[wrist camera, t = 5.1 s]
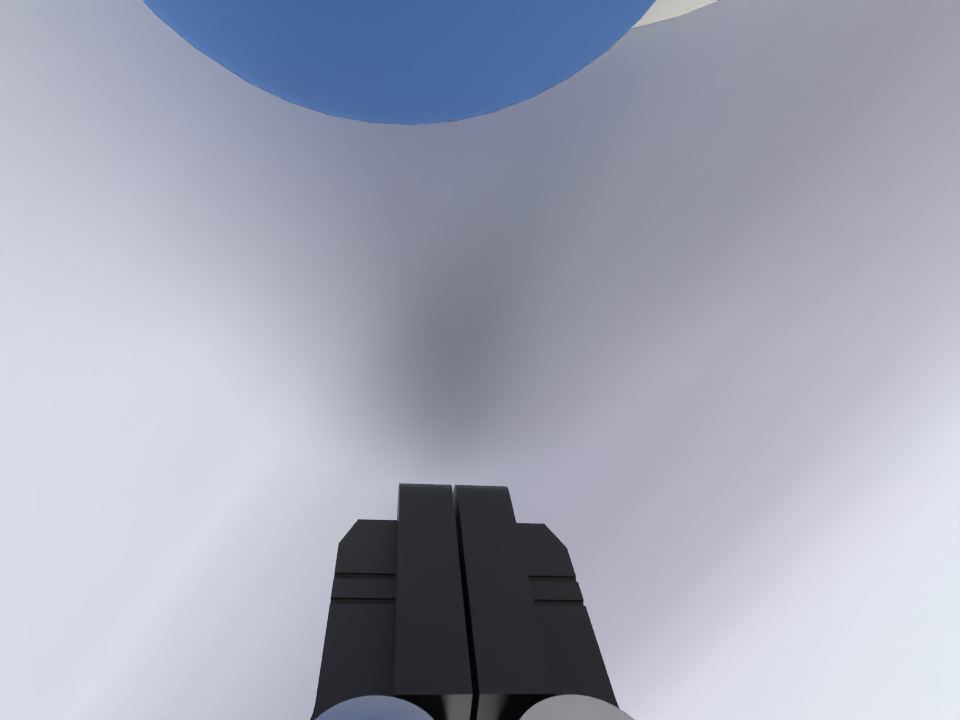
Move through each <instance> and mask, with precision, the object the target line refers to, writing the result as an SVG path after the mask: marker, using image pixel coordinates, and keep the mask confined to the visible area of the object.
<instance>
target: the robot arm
mask: <svg viewBox="0 0 960 720" xmlns="http://www.w3.org/2000/svg"><path fill="white" fill-rule="evenodd" d="M310 720H634V719H633V718H632V717H630V716H629V715H628V714H626V713H625V712H624V711H622V710H621V709H619V707H618V704H617V702H616V699H615V696H614V693H613V690H612V687H611V683H610V680H609V677H608V674H607V671H606V668H605V665H604V662H603V659H602V656H601V653H600V649H599V646H598V643H597V640H596V637H595V634H594V631H593V628H592V625H591V622H590V618H589V615H588V612H587V609H586V606H584V605H583V597H582V594H581V591H580V588H579V584H578V582H576V575H575V572H574V569H573V566H572V563H571V560H570V557H569V553H568V550H567V548H566V547H565V546H564V545H563V543H562V542H561V541H560V540H559V539H558V538H557V537H556V536H555V535H554V534H553V533H552V532H551V531H550V530H549V528H548V527H547V526H546V525H545V524H531V523H516V520H515V516H514V511H513V507H512V503H511V498H510V494H509V490H508V488H507V487H505V486H473V485H455V486H454V491H453V492H452V486H451V485H435V484H403V483H399V493H398V509H397V520H362V519H358V520H357V522H356V523H355V524H354V525H353V527H352V528H351V529H350V530H349V532H348V533H347V534H346V535H345V537H344V538H343V539H342V540H341V541H340V543H339V546H338V553H337V560H336V567H335V575H334V580H333V587H332V594H331V604H330V608H329V614H328V621H327V628H326V635H325V642H324V648H323V655H322V662H321V669H320V676H319V682H318V689H317V696H316V703H315V707H314V711H313V715H312V717H311V719H310Z"/></svg>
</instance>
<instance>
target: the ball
mask: <svg viewBox="0 0 960 720" xmlns="http://www.w3.org/2000/svg"><path fill="white" fill-rule="evenodd" d="M142 1H143V2H144V3H145V4H146V5H147V6H148V7H149V8H150V9H151V10H152V11H153V12H154V13H155V14H156V15H157V16H158V17H159V18H160V19H161V20H162V21H164V22H165V23H166V24H167V25H168V26H170V27H171V28H172V29H173V30H174V31H176V32H177V33H178V34H179V35H180V36H181V37H183V38H184V39H185V40H186V41H187V42H189V43H190V44H191V45H192V46H193V47H195V48H196V49H198V50H199V51H201V52H202V53H204V54H205V55H207V56H208V57H210V58H211V59H213V60H215V61H216V62H218V63H219V64H221V65H222V66H224V67H225V68H227V69H228V70H230V71H231V72H233V73H235V74H236V75H238V76H239V77H241V78H242V79H244V80H245V81H247V82H249V83H251V84H253V85H255V86H257V87H259V88H261V89H263V90H265V91H267V92H269V93H271V94H274V95H276V96H278V97H280V98H282V99H284V100H286V101H288V102H291V103H294V104H297V105H300V106H303V107H306V108H309V109H312V110H315V111H318V112H321V113H325V114H328V115H332V116H337V117H343V118H348V119H353V120H359V121H364V122H369V123H387V124H408V125H415V124H427V123H438V122H449V121H457V120H461V119H465V118H470V117H474V116H478V115H483V114H487V113H491V112H495V111H497V110H500V109H503V108H505V107H508V106H511V105H513V104H516V103H518V102H521V101H524V100H526V99H529V98H532V97H534V96H536V95H538V94H540V93H542V92H543V91H545V90H547V89H549V88H551V87H553V86H554V85H556V84H558V83H560V82H562V81H564V80H566V79H567V78H569V77H571V76H573V75H574V74H575V73H577V72H578V71H580V70H581V69H582V68H584V67H585V66H586V65H588V64H589V63H591V62H592V61H593V60H595V59H596V58H597V57H599V56H600V55H602V54H603V53H604V52H606V51H607V50H608V49H609V48H610V47H612V46H613V45H614V44H615V43H616V42H617V41H618V40H619V39H620V38H621V37H622V36H623V35H624V34H625V33H626V32H627V31H628V30H630V29H631V28H632V27H633V26H634V25H635V24H636V23H637V22H638V21H639V20H640V19H641V18H642V17H643V16H644V15H645V13H646V12H647V11H648V10H649V8H650V7H651V6H652V5H653V4H654V2H655V1H656V0H142Z"/></svg>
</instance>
